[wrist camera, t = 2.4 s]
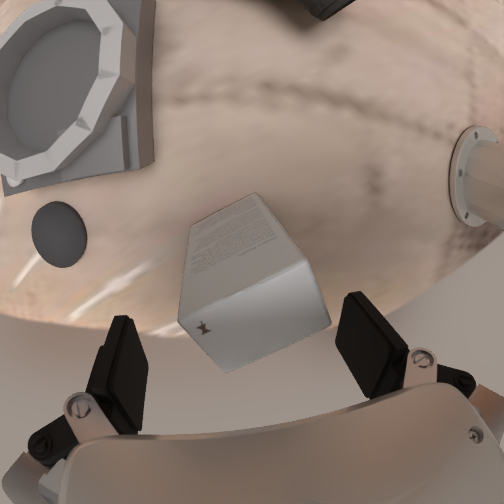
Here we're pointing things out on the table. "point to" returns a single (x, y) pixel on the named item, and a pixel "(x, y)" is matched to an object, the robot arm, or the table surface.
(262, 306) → the skincare box
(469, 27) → the table surface
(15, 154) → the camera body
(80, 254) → the lens cap
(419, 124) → the table surface
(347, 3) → the rifle scope
